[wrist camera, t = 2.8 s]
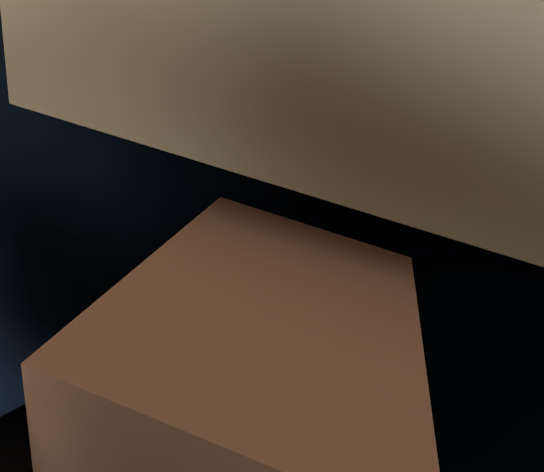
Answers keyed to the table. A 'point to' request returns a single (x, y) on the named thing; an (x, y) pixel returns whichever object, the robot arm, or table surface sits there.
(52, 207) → the table surface
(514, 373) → the table surface
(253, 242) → the terracotta brick
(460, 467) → the table surface
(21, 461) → the robot arm
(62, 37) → the birch board
